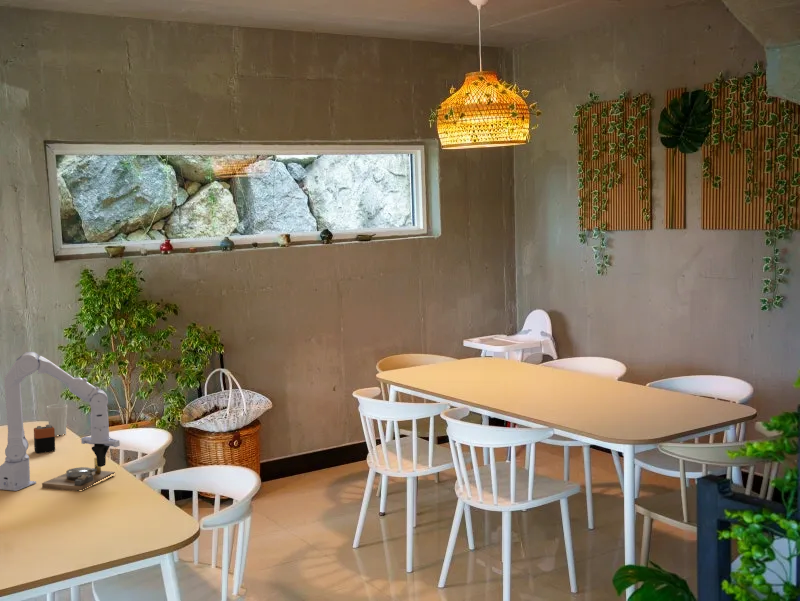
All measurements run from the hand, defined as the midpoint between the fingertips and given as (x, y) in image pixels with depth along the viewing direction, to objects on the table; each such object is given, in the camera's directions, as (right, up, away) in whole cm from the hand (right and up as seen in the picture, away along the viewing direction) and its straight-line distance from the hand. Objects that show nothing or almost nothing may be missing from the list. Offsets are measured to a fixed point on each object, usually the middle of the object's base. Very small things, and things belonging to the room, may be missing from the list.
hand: (101, 465), depth 291 cm
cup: (-40, 0, +63) cm, 75 cm away
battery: (-34, -2, +36) cm, 50 cm away
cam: (-5, -3, -3) cm, 6 cm away
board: (-6, -5, -4) cm, 8 cm away
